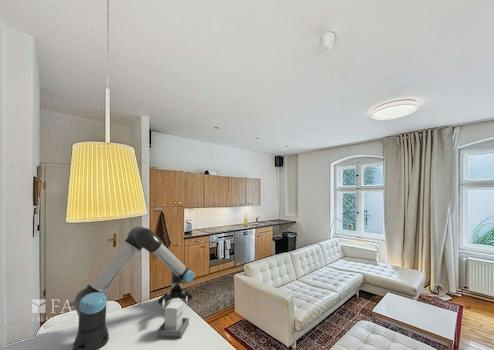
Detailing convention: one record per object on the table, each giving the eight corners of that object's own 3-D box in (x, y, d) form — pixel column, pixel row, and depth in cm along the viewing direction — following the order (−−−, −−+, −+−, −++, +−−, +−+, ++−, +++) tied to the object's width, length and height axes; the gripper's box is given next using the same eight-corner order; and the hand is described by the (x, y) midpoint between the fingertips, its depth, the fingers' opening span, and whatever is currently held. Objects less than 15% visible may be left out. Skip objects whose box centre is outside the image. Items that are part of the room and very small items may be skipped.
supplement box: (176, 333, 120) (176, 308, 122) (163, 331, 122) (164, 307, 123) (182, 325, 128) (183, 302, 129) (171, 324, 129) (171, 301, 130)
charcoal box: (157, 337, 118) (157, 330, 119) (167, 323, 131) (167, 317, 132) (180, 338, 118) (180, 331, 118) (188, 324, 131) (188, 317, 131)
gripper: (195, 293, 156) (196, 308, 135) (157, 298, 149) (152, 314, 129) (195, 282, 156) (196, 295, 136) (157, 287, 150) (152, 301, 129)
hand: (174, 305), depth 132 cm, fingers open, 13 cm apart
